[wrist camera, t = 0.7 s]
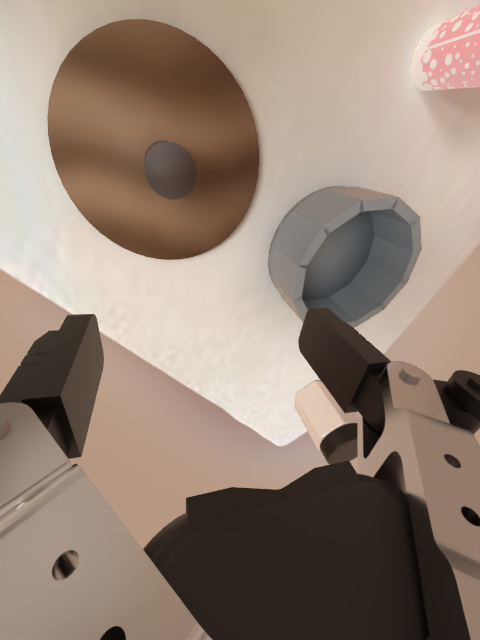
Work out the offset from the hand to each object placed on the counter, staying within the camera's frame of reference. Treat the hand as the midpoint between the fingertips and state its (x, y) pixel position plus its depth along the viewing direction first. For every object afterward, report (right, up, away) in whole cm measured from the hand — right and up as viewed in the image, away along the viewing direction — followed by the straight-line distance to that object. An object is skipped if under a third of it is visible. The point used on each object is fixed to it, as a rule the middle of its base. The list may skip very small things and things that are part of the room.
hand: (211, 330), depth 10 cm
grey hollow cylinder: (+12, +9, +23) cm, 27 cm away
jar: (+15, -14, +42) cm, 47 cm away
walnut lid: (-6, +14, +13) cm, 20 cm away
